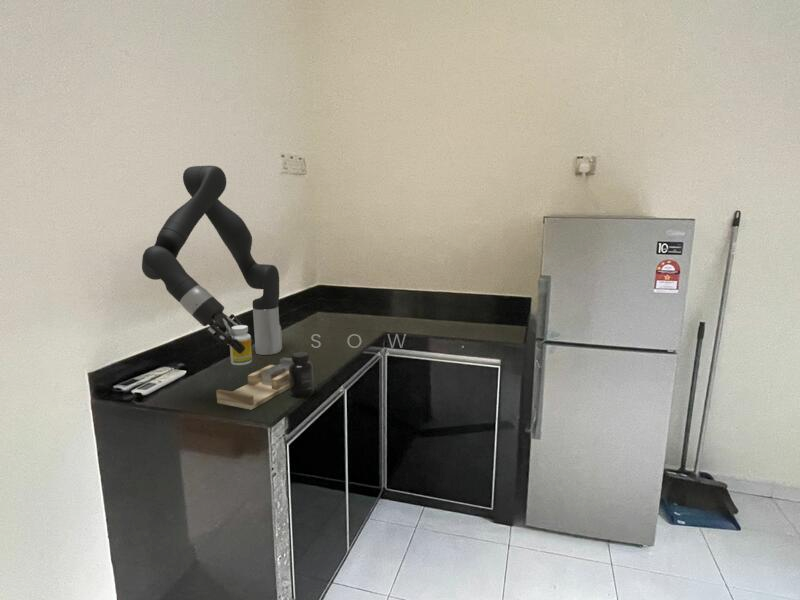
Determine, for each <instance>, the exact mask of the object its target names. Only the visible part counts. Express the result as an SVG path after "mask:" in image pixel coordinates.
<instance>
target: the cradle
mask: <svg viewBox="0 0 800 600" xmlns="http://www.w3.org/2000/svg"><path fill="white" fill-rule="evenodd" d="M274 366H276V364H269V365H266V366H265V367H263V368H259V369H258V370H256V371H254V372H251V373H250V374H248V375H247V384H244V385H243V386H241V387H239V388H238V387H237V388H236V389H235V390H233V391H231V390H224V389H221V388H220V389H217V390H216V391H215V393H216V403H217V404H220V405H224V406H230V407H236V408H241V409H245V410H250V411H253V409H256V408H257V407H259V406H261V405H263V404H264V403H266V402H268V401H270V400H271V399H273V398H275V397H277V396H278V395H280V394H282V393H284V392H285V391H287V390H288V389H289V390H290V380H289V371H287V372H285V373H283V374H281V375H279V376H277V377H275V378H273V379H271V382H272V386H270V385H264V384H262V379H261V373H262V372H264V371H266V370H268V369H270V368H272V367H274Z"/></svg>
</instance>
